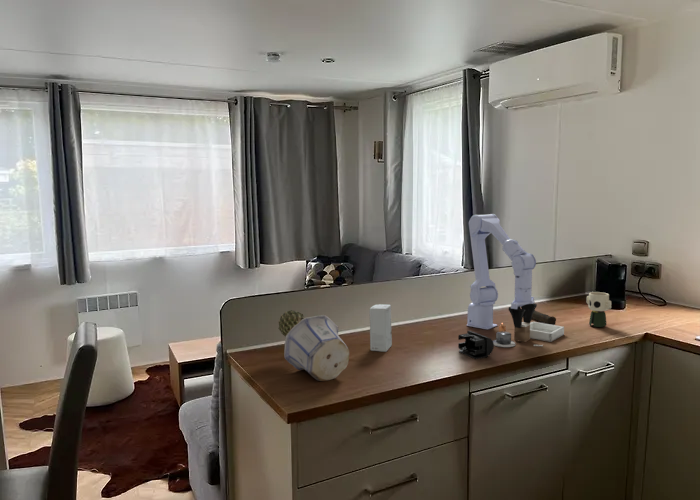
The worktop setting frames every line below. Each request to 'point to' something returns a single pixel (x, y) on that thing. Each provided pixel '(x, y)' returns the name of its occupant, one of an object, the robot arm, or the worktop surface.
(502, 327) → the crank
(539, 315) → the hand tool
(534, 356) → the worktop surface
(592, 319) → the character mug
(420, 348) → the worktop surface
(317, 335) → the potted plant
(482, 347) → the end cap
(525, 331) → the block
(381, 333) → the skincare box
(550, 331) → the tray
